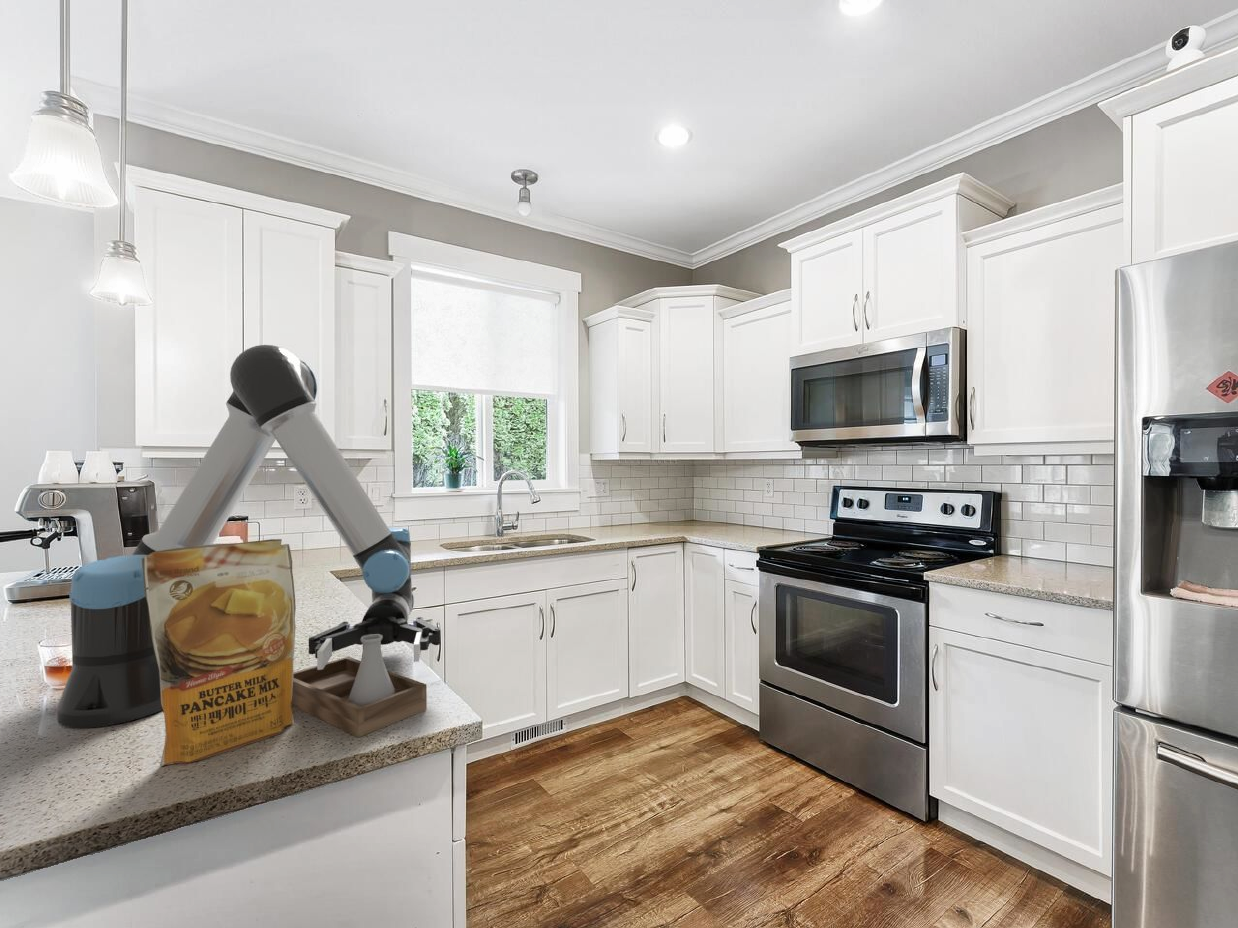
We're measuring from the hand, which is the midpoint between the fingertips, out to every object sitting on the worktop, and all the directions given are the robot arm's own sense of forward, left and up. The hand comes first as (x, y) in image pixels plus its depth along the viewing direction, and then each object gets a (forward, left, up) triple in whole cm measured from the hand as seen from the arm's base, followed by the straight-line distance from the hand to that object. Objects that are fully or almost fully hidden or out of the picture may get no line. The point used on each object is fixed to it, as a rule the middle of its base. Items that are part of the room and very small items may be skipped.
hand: (368, 656), depth 92 cm
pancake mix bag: (-15, +10, -10) cm, 21 cm away
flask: (+2, +2, -8) cm, 9 cm away
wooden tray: (+2, +8, -10) cm, 13 cm away
